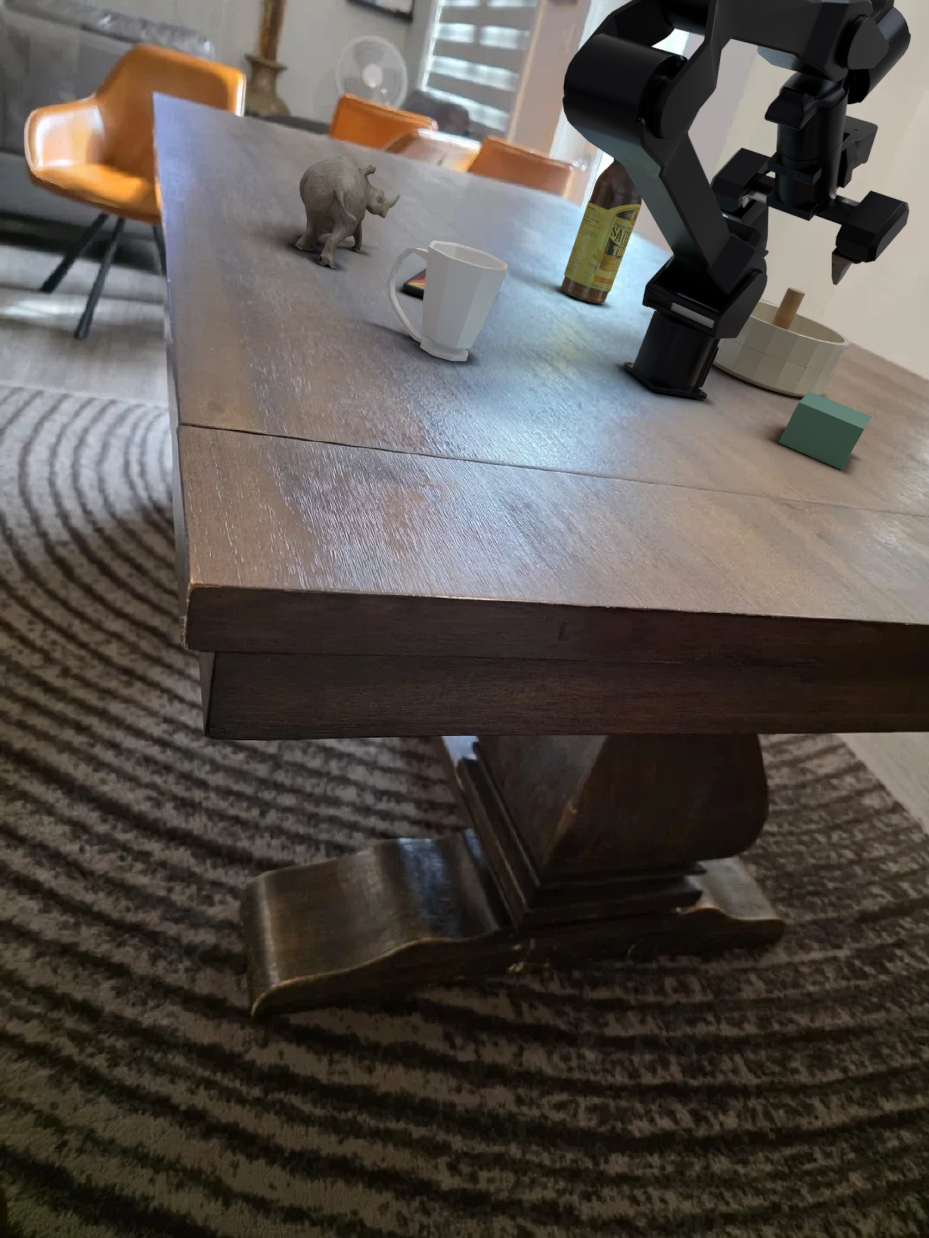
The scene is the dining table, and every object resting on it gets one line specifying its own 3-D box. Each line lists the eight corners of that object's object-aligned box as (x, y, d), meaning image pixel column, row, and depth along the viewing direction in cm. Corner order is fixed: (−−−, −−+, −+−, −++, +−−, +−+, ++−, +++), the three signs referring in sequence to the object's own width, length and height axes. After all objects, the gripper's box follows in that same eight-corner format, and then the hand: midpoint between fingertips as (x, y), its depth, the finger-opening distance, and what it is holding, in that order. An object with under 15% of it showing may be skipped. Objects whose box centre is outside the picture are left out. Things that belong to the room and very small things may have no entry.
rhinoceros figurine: (256, 221, 83) (323, 86, 84) (282, 284, 97) (339, 167, 98) (330, 254, 83) (395, 119, 84) (345, 313, 97) (401, 196, 98)
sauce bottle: (594, 308, 105) (656, 128, 95) (550, 289, 107) (606, 112, 97) (613, 304, 111) (674, 134, 100) (572, 287, 113) (627, 118, 102)
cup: (461, 373, 70) (489, 272, 66) (359, 329, 72) (379, 228, 68) (496, 360, 76) (523, 267, 71) (400, 319, 78) (421, 226, 74)
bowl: (745, 390, 92) (773, 331, 88) (672, 340, 103) (695, 285, 99) (847, 408, 98) (877, 353, 95) (768, 358, 109) (792, 307, 106)
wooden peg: (776, 375, 99) (814, 297, 94) (754, 369, 98) (790, 290, 94) (766, 366, 102) (802, 290, 97) (744, 361, 101) (779, 283, 96)
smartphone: (401, 283, 86) (434, 261, 98) (399, 291, 86) (433, 268, 99) (472, 305, 85) (496, 280, 98) (470, 314, 86) (494, 288, 98)
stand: (778, 442, 78) (798, 401, 76) (789, 430, 83) (809, 391, 81) (841, 470, 77) (864, 429, 75) (849, 455, 82) (871, 416, 79)
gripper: (960, 105, 75) (925, 244, 89) (774, 55, 84) (769, 188, 97) (884, 192, 74) (861, 319, 87) (703, 132, 82) (708, 256, 96)
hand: (798, 266), depth 92 cm, fingers open, 9 cm apart
